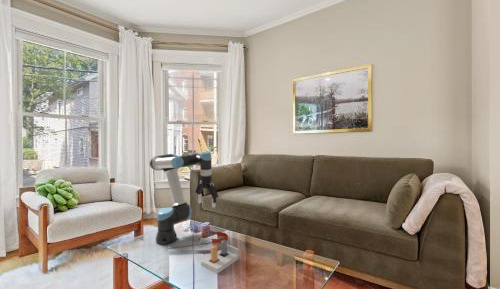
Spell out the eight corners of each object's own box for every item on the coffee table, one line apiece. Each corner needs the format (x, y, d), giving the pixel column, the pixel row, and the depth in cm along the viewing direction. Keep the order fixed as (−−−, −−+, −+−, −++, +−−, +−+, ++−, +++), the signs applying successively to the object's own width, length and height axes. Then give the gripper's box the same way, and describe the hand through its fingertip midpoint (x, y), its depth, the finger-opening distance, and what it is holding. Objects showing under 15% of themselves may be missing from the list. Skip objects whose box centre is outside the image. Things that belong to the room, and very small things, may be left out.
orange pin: (209, 265, 166) (209, 247, 165) (214, 262, 169) (214, 244, 168) (214, 267, 164) (214, 249, 162) (219, 264, 167) (218, 246, 165)
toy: (225, 252, 182) (225, 241, 181) (211, 250, 184) (211, 239, 183) (230, 243, 194) (230, 232, 193) (216, 241, 196) (216, 231, 195)
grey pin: (219, 258, 173) (219, 241, 172) (223, 256, 176) (223, 239, 175) (224, 260, 171) (224, 243, 169) (228, 258, 174) (228, 241, 172)
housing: (201, 265, 166) (201, 255, 165) (223, 252, 182) (223, 242, 181) (217, 273, 157) (217, 262, 156) (238, 258, 173) (238, 248, 172)
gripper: (189, 173, 184) (190, 202, 187) (215, 178, 169) (215, 210, 172) (197, 171, 190) (198, 199, 193) (223, 176, 175) (223, 207, 178)
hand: (206, 205), depth 182 cm, fingers open, 13 cm apart
